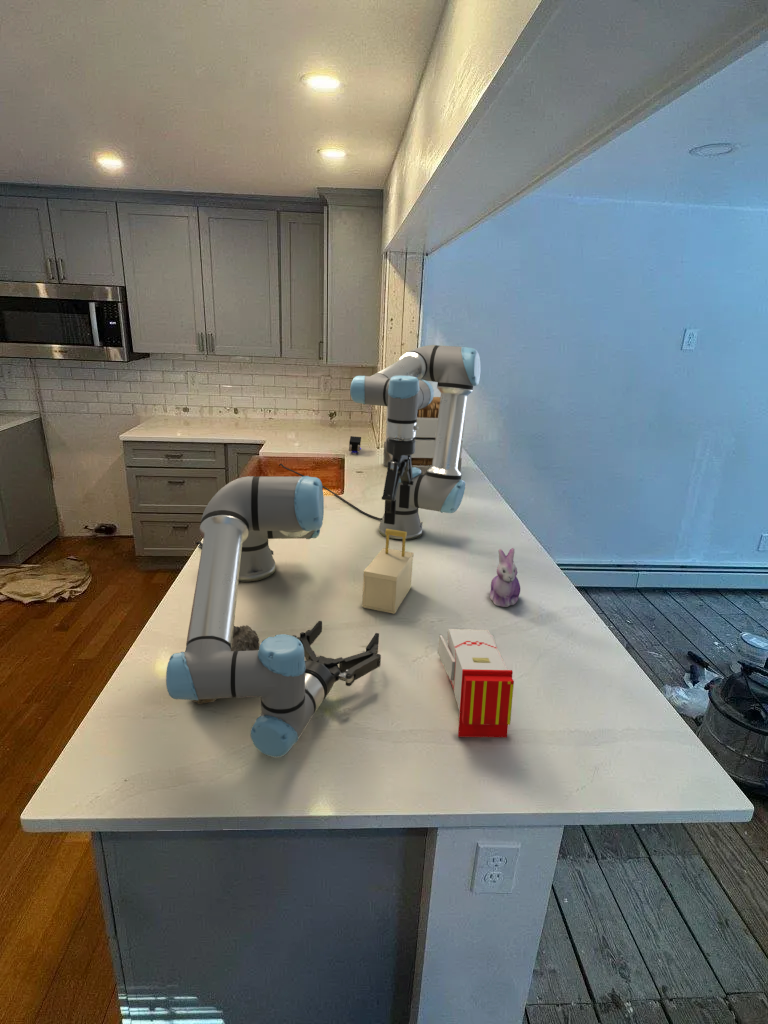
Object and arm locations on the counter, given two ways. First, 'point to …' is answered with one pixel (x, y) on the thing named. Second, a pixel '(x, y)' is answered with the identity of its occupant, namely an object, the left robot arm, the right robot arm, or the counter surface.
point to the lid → (390, 560)
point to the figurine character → (354, 444)
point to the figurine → (505, 581)
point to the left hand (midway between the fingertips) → (348, 632)
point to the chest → (386, 591)
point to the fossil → (239, 646)
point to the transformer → (424, 436)
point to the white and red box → (478, 682)
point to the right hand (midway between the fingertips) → (396, 515)
